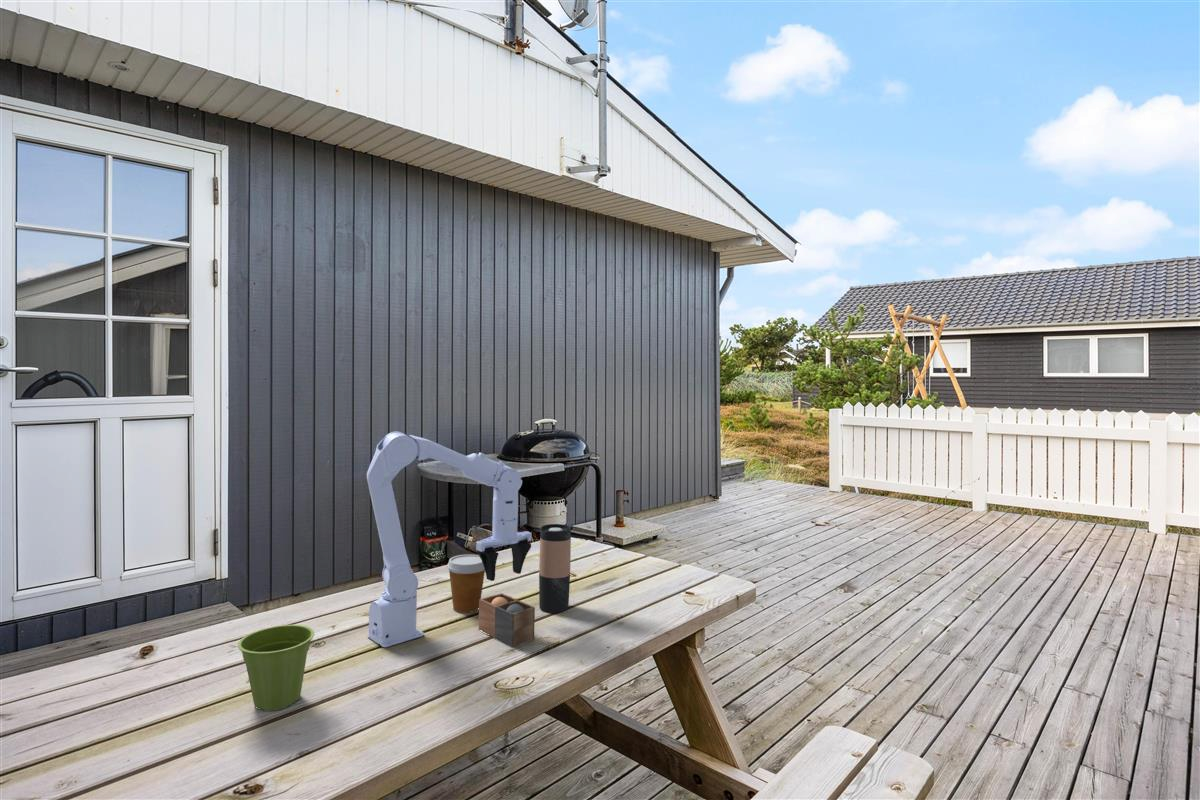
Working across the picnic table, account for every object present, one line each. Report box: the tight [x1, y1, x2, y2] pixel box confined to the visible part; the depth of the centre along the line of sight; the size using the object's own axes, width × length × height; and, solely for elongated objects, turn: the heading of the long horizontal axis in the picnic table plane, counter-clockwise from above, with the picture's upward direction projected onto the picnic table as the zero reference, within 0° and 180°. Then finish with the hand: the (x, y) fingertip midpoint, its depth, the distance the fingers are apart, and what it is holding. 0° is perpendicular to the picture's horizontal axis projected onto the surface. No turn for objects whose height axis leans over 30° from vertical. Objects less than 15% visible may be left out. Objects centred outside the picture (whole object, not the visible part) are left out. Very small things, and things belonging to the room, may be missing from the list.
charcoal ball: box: [506, 604, 523, 613], centre depth 140 cm, size 4×4×4 cm
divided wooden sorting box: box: [478, 593, 536, 648], centre depth 143 cm, size 6×12×7 cm, turn 46°
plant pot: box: [237, 624, 315, 711], centre depth 112 cm, size 12×12×11 cm
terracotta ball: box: [491, 597, 508, 606], centre depth 144 cm, size 4×4×4 cm
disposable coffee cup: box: [446, 554, 486, 613], centre depth 158 cm, size 10×10×12 cm
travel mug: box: [538, 523, 572, 614], centre depth 159 cm, size 8×8×20 cm
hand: (503, 576), depth 150 cm, fingers open, 7 cm apart
